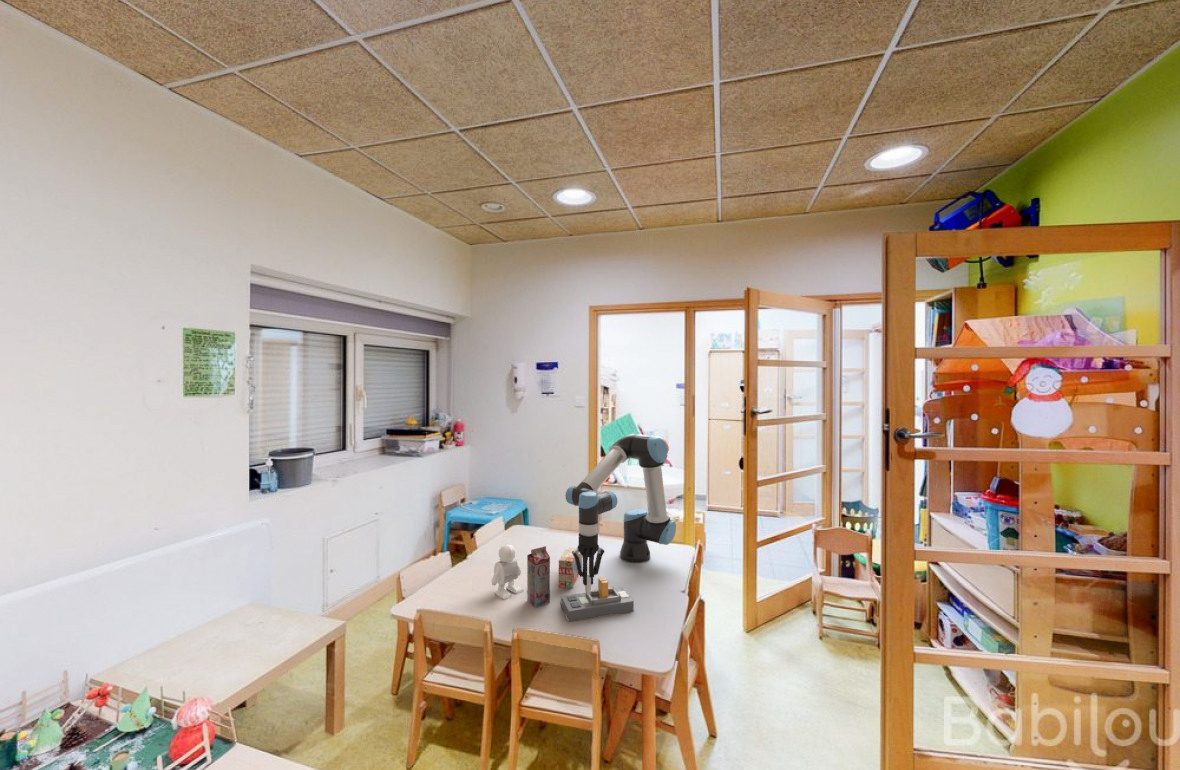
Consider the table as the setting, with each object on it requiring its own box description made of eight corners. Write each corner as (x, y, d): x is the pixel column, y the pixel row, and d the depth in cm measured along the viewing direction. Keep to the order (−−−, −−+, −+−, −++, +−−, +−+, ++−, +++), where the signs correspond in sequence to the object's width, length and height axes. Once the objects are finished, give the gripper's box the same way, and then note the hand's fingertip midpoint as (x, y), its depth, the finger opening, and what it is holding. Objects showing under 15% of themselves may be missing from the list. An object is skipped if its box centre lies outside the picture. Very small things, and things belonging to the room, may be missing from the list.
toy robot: (499, 601, 184) (499, 552, 183) (487, 593, 190) (487, 546, 190) (526, 589, 194) (526, 543, 194) (514, 582, 200) (514, 537, 200)
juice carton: (549, 602, 183) (549, 548, 183) (535, 607, 179) (535, 552, 179) (541, 595, 189) (541, 543, 188) (527, 600, 185) (527, 547, 184)
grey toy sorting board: (622, 596, 188) (622, 583, 188) (633, 611, 177) (633, 597, 177) (561, 605, 181) (561, 592, 180) (568, 621, 169) (568, 607, 169)
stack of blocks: (569, 566, 217) (569, 541, 217) (582, 567, 216) (582, 542, 216) (558, 587, 196) (558, 559, 196) (572, 589, 195) (572, 560, 195)
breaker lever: (604, 593, 182) (604, 576, 182) (608, 599, 177) (608, 581, 177) (598, 594, 181) (598, 577, 181) (602, 600, 177) (602, 582, 176)
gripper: (601, 528, 182) (600, 586, 183) (569, 531, 178) (569, 590, 179) (607, 534, 175) (606, 594, 176) (574, 538, 171) (574, 599, 172)
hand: (588, 592), depth 178 cm, fingers closed
